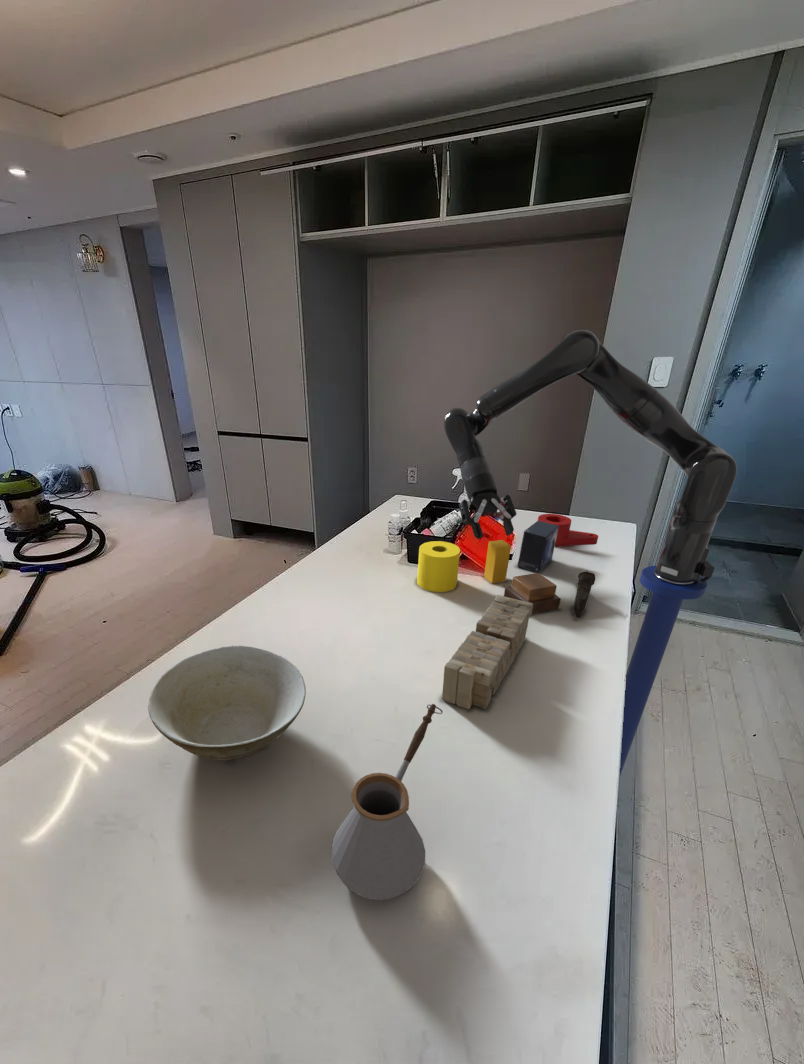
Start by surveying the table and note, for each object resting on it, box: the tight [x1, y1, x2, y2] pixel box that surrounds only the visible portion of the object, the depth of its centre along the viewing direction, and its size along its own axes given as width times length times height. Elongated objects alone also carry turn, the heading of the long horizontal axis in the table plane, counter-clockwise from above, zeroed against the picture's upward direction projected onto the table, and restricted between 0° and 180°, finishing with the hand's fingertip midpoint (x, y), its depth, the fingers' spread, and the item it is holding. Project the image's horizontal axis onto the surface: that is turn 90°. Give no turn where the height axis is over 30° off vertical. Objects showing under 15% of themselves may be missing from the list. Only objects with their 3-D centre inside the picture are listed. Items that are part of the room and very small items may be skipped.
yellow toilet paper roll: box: [416, 540, 461, 593], centre depth 128 cm, size 10×10×9 cm
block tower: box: [441, 594, 533, 710], centre depth 98 cm, size 8×8×29 cm
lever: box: [537, 513, 599, 547], centre depth 153 cm, size 18×9×7 cm, turn 80°
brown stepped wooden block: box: [503, 572, 562, 615], centre depth 119 cm, size 9×9×6 cm
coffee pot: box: [330, 703, 444, 901], centre depth 63 cm, size 21×12×15 cm, turn 149°
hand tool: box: [573, 570, 596, 619], centre depth 121 cm, size 19×4×5 cm, turn 151°
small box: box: [516, 520, 559, 573], centre depth 138 cm, size 11×6×10 cm, turn 143°
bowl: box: [147, 645, 307, 761], centre depth 81 cm, size 24×24×10 cm
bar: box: [483, 539, 512, 584], centre depth 130 cm, size 4×4×10 cm
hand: (495, 536), depth 129 cm, fingers open, 8 cm apart
